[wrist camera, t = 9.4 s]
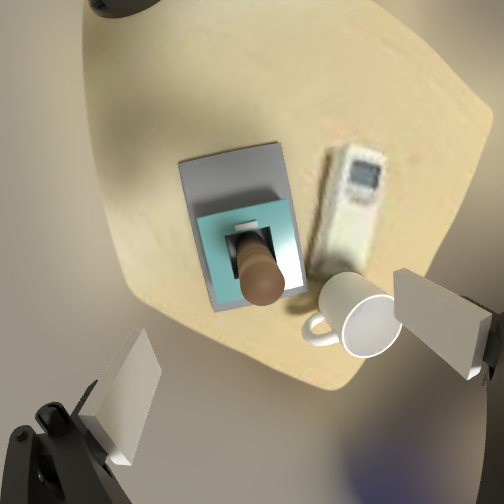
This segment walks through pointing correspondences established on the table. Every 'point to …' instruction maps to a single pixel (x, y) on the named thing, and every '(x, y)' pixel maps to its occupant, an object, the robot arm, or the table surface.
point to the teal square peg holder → (241, 220)
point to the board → (237, 199)
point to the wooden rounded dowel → (258, 270)
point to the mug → (354, 316)
